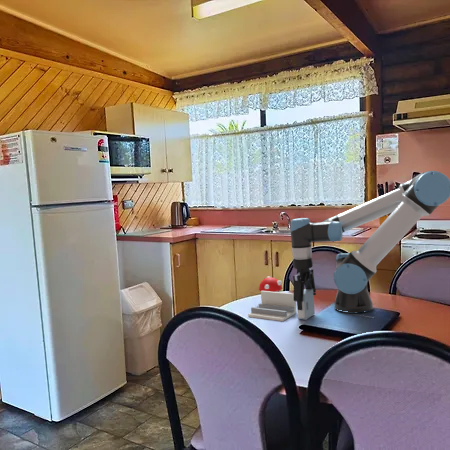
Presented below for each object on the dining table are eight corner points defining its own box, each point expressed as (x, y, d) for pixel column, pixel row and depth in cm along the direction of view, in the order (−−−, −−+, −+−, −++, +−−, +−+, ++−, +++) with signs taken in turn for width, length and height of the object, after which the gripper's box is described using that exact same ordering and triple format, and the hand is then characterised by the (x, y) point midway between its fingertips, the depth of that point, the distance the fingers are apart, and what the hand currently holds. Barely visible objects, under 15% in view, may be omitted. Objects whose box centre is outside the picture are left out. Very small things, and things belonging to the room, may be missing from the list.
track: (296, 312, 172) (295, 293, 171) (282, 321, 162) (281, 301, 161) (263, 308, 181) (261, 290, 181) (248, 316, 172) (247, 297, 171)
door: (306, 313, 169) (305, 288, 168) (315, 313, 167) (313, 289, 166) (298, 318, 163) (296, 293, 162) (306, 319, 161) (304, 294, 160)
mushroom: (282, 306, 183) (281, 279, 182) (258, 306, 185) (256, 280, 184) (284, 299, 193) (282, 274, 192) (260, 300, 195) (259, 275, 194)
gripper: (304, 253, 174) (308, 306, 175) (281, 262, 157) (285, 321, 159) (321, 253, 169) (325, 308, 171) (299, 262, 153) (303, 323, 154)
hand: (306, 314), depth 165 cm, fingers closed on door, 8 cm apart
